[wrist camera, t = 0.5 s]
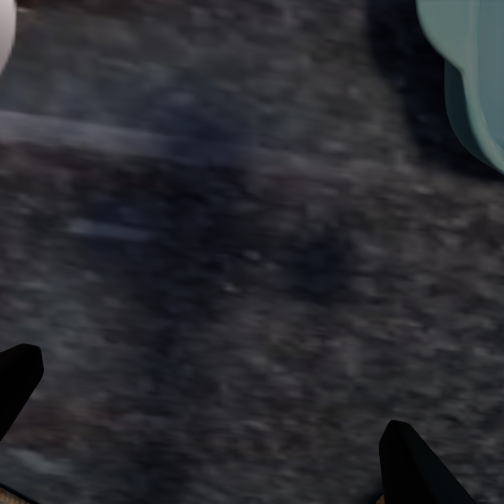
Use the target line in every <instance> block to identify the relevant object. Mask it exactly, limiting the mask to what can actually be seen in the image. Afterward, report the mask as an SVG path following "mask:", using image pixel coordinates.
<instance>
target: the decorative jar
mask: <svg viewBox="0 0 504 504" xmlns="http://www.w3.org/2000/svg"><path fill="white" fill-rule="evenodd" d="M0 504H31V503H28V502H27V501H25V500H23V499H21V498H19V497H17V496H16V495H14V494H12V493H10V492H8V491H6V490H4V489H2V488H0Z"/></svg>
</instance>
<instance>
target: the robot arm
mask: <svg viewBox="0 0 504 504" xmlns="http://www.w3.org/2000/svg"><path fill="white" fill-rule="evenodd" d="M43 373H44V367H43V360H42V353H41V349H40V348H39V347H38V346H35V345H30V344H20V345H17V346H15V347H12V348H10V349H8V350H5V351H3V352H1V353H0V441H1V440H2V439H3V437H4V436H5V434H6V433H7V431H8V430H9V428H10V427H11V425H12V424H13V422H14V421H15V419H16V417H17V416H18V414H19V413H20V411H21V410H22V408H23V407H24V405H25V404H26V402H27V400H28V399H29V397H30V396H31V394H32V393H33V391H34V390H35V388H36V386H37V385H38V383H39V382H40V380H41V378H42V376H43ZM379 457H380V466H381V475H382V484H383V493H384V502H385V504H477V503H476V502H475V501H474V500H473V498H472V497H471V496H470V495H469V494H468V492H467V491H466V490H465V489H464V488H463V487H462V485H461V484H460V483H459V482H458V481H457V479H456V478H455V477H454V476H453V475H452V474H451V472H450V471H449V470H448V469H447V468H446V466H445V465H444V464H443V463H442V462H441V460H440V459H439V458H438V457H437V456H436V455H435V453H434V452H433V451H432V450H431V449H430V447H429V446H428V445H427V444H426V443H425V442H424V440H423V439H422V438H421V437H420V436H419V434H418V433H417V432H416V431H415V430H414V428H413V427H412V426H411V425H410V424H408V423H406V422H402V421H397V420H391V421H390V422H389V423H388V425H387V427H386V429H385V431H384V433H383V435H382V437H381V439H380V442H379Z"/></svg>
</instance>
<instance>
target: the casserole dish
mask: <svg viewBox="0 0 504 504" xmlns="http://www.w3.org/2000/svg"><path fill="white" fill-rule="evenodd" d="M415 4H416V13H417V18H418V21H419V24H420V27H421V30H422V33H423V35H424V36H425V38H426V39H427V40H428V42H429V43H430V45H431V46H432V47H433V49H434V50H435V51H436V52H437V53H438V54H439V55H440V56H441V57H442V58H443V59H445V104H446V110H447V115H448V118H449V121H450V124H451V127H452V130H453V131H454V133H455V135H456V136H457V138H458V140H459V141H460V143H461V144H462V145H463V146H464V147H465V148H466V149H467V150H468V151H469V152H470V153H471V154H472V155H473V156H475V157H476V158H477V159H479V160H480V161H482V162H483V163H485V164H486V165H488V166H490V167H492V168H494V169H495V170H497V171H498V172H499V173H501V174H502V175H504V0H415Z"/></svg>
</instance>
